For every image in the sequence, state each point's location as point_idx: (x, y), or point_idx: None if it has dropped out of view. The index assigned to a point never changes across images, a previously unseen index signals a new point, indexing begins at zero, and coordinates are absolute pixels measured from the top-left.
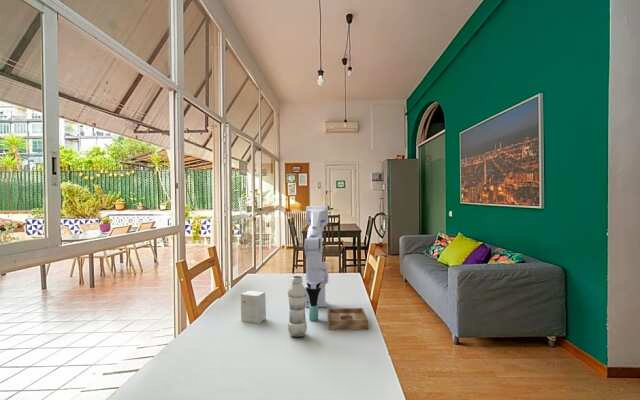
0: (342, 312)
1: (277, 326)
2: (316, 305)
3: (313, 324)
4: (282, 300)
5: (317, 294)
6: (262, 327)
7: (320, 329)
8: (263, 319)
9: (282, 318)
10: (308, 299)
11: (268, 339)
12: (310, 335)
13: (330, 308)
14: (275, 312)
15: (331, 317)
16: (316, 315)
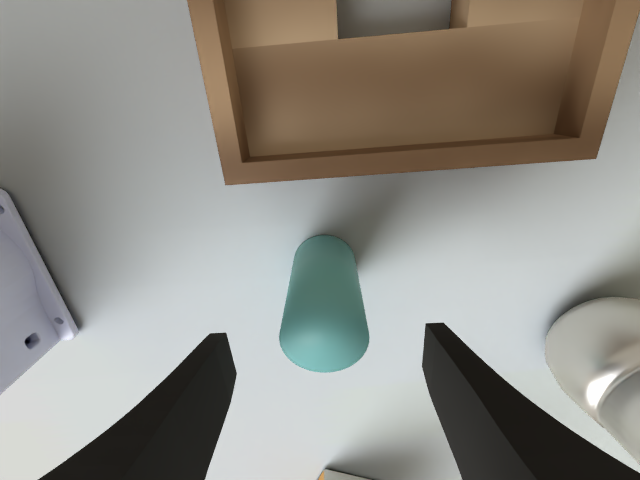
0: (225, 9)
1: (429, 418)
2: (357, 313)
3: (417, 258)
4: (2, 445)
5: (590, 458)
6: (435, 462)
7: (521, 208)
8: (345, 476)
9: (310, 413)
10: (10, 352)
11: (592, 427)
12: (610, 262)
13: (220, 155)
14: (219, 447)
15: (387, 135)
16: (351, 263)
